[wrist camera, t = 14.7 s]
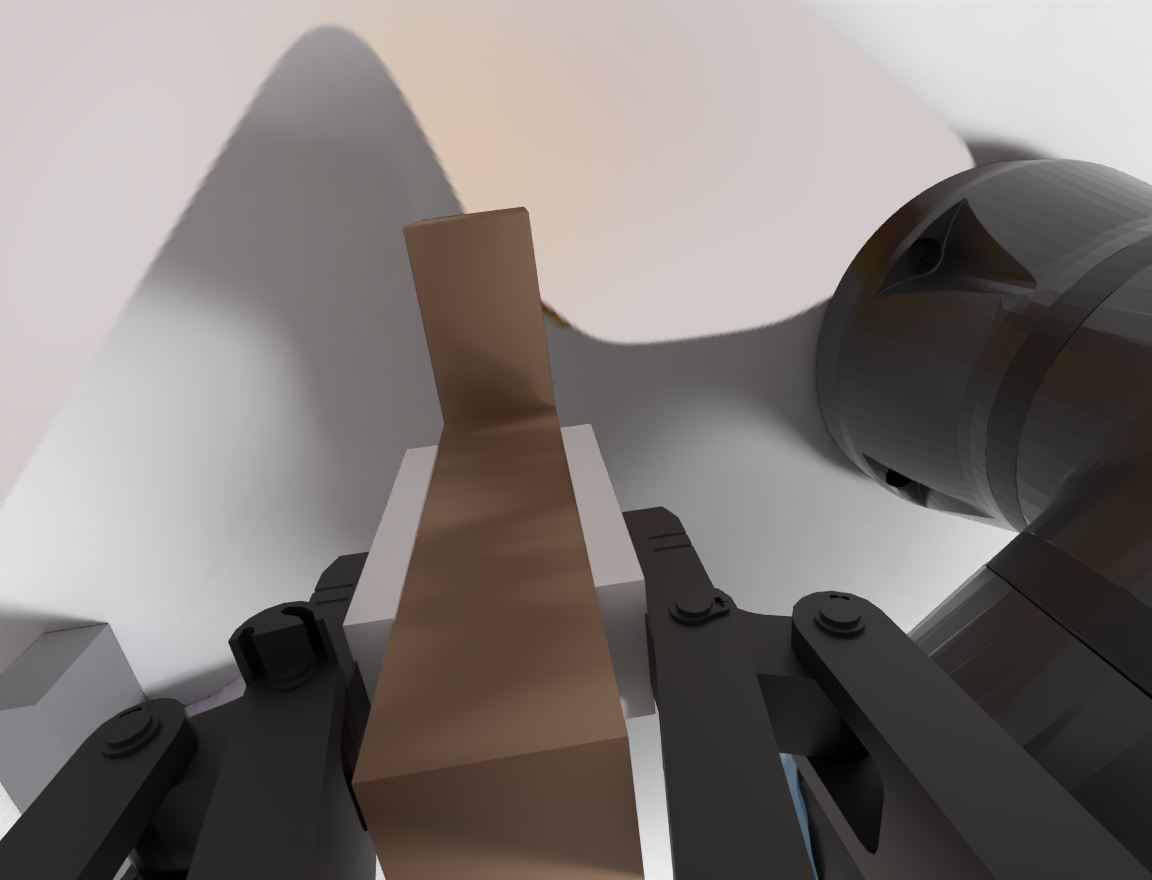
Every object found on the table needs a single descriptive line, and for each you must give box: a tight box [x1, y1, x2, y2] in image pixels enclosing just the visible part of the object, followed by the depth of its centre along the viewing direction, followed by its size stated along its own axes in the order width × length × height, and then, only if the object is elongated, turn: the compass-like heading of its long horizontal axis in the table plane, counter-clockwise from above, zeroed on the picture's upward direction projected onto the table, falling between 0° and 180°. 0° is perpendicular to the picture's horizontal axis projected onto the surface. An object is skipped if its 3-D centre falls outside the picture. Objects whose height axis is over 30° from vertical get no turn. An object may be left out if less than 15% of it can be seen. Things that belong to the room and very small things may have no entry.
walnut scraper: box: [352, 207, 645, 880], centre depth 14 cm, size 3×13×15 cm, turn 7°
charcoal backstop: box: [0, 624, 147, 880], centre depth 30 cm, size 3×14×5 cm, turn 6°
